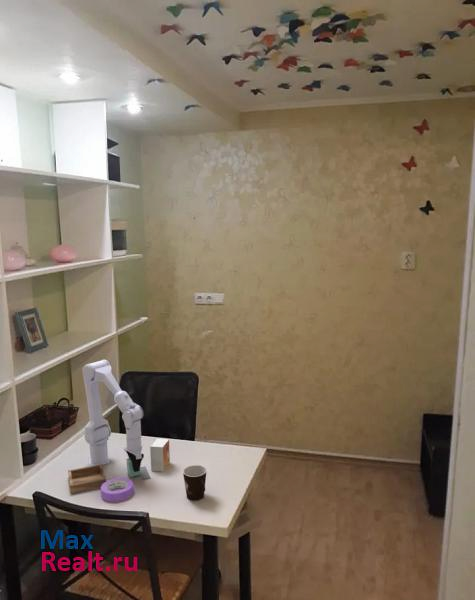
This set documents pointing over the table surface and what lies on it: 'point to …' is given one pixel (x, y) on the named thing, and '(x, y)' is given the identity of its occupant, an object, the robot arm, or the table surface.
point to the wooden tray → (86, 478)
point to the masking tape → (120, 494)
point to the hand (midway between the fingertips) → (135, 468)
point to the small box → (160, 454)
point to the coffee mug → (195, 482)
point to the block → (131, 468)
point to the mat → (144, 473)
